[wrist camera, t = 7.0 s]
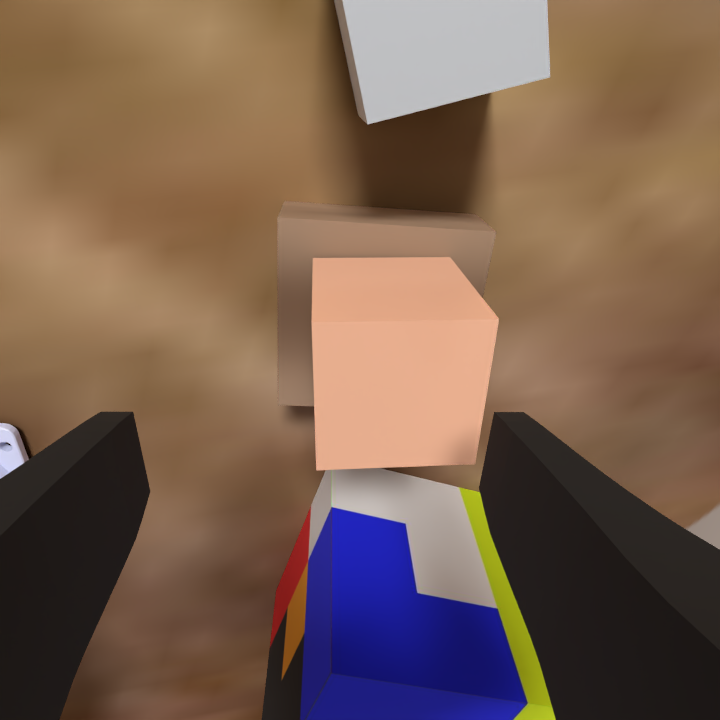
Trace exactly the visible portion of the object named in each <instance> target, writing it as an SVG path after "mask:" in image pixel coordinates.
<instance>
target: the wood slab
mask: <svg viewBox="0 0 720 720" xmlns="http://www.w3.org/2000/svg"><path fill="white" fill-rule="evenodd" d="M495 237H496V231H495V230H494V229H493V228H491V227H490V226H489V225H488V224H487V223H486V222H484V221H483V220H482V219H481V218H480V217H479V216H477V215H476V214H467V213H453V212H438V211H424V210H409V209H395V208H381V207H366V206H352V205H337V204H323V203H308V202H294V201H284V203H283V206H282V208H281V210H280V213H279V215H278V405H291V406H314V382H313V352H312V271H313V258H387V257H450V258H451V259H452V260H453V261H454V263H455V264H456V265H457V266H458V268H459V269H460V270H461V272H462V273H463V274H464V275H465V277H466V278H467V279H468V280H469V282H470V283H471V284H472V286H473V287H474V288H475V289H476V291H477V292H478V293H479V294H480V296H481V297H482V298H483V294H484V290H485V285H486V280H487V275H488V270H489V265H490V261H491V256H492V251H493V246H494V241H495Z"/></svg>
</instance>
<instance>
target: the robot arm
mask: <svg viewBox="0 0 720 720" xmlns="http://www.w3.org/2000/svg"><path fill="white" fill-rule="evenodd" d="M6 442H7V443H9V444H11V446H10V445H8V444H6ZM479 490H480V495H481V499H482V503H483V508H484V512H485V516H486V520H487V523H488V527H489V531H490V534H491V537H492V540H493V543H494V545H495V548H496V550H497V553H498V556H499V558H500V561H501V563H502V566H503V569H504V571H505V574H506V576H507V579H508V581H509V584H510V587H511V589H512V592H513V594H514V597H515V599H516V602H517V604H518V607H519V610H520V612H521V615H522V617H523V620H524V622H525V625H526V627H527V630H528V633H529V635H530V638H531V640H532V643H533V646H534V649H535V652H536V655H537V658H538V661H539V663H540V667H541V670H542V673H543V677H544V680H545V684H546V687H547V691H548V694H549V698H550V701H551V705H552V708H553V712H554V715H555V719H556V720H720V550H719V549H717V548H716V547H714V546H713V545H711V544H709V543H708V542H706V541H704V540H703V539H701V538H699V537H698V536H696V535H694V534H692V533H691V532H689V531H688V530H686V529H684V528H683V527H681V526H679V525H678V524H676V523H675V522H673V521H672V520H670V519H668V518H667V517H665V516H664V515H662V514H661V513H659V512H658V511H656V510H655V509H653V508H652V507H650V506H649V505H648V504H646V503H645V502H643V501H642V500H640V499H639V498H637V497H636V496H634V495H633V494H631V493H630V492H629V491H627V490H626V489H624V488H623V487H622V486H620V485H619V484H617V483H616V482H615V481H613V480H612V479H611V478H609V477H608V476H607V475H605V474H604V473H602V472H601V471H600V470H598V469H597V468H596V467H595V466H593V465H592V464H591V463H589V462H588V461H587V460H585V459H584V458H583V457H581V456H580V455H579V454H578V453H576V452H575V451H574V450H572V449H571V448H570V447H569V446H567V445H566V444H565V443H564V442H562V441H561V440H560V439H558V438H557V437H556V436H555V435H553V434H552V433H551V432H549V431H548V430H547V429H546V428H544V427H543V426H542V425H540V424H539V423H538V422H536V421H535V420H534V419H532V418H531V417H530V416H528V415H527V414H525V413H524V412H494V416H493V421H492V426H491V431H490V436H489V441H488V446H487V451H486V456H485V461H484V466H483V471H482V476H481V481H480V486H479ZM149 494H150V488H149V483H148V479H147V474H146V470H145V465H144V460H143V456H142V451H141V447H140V442H139V437H138V433H137V428H136V423H135V419H134V414H133V412H100V413H98V414H97V415H95V416H93V417H91V418H90V419H88V420H87V421H85V422H84V423H82V424H81V425H79V426H78V427H76V428H75V429H73V430H72V431H70V432H69V433H67V434H66V435H64V436H63V437H61V438H60V439H58V440H57V441H55V442H54V443H53V444H51V445H50V446H48V447H47V448H45V449H44V450H42V451H41V452H39V453H38V454H36V455H35V456H33V457H32V458H30V459H29V458H28V456H27V453H26V450H25V448H24V445H23V442H22V439H21V437H20V434H19V432H18V430H17V429H16V428H15V427H14V426H12V425H10V424H6V423H0V720H59V719H60V716H61V714H62V711H63V708H64V705H65V702H66V699H67V696H68V693H69V691H70V688H71V685H72V682H73V679H74V677H75V674H76V672H77V669H78V667H79V665H80V662H81V660H82V657H83V655H84V652H85V650H86V648H87V646H88V644H89V641H90V639H91V637H92V635H93V633H94V630H95V628H96V626H97V624H98V622H99V620H100V617H101V615H102V613H103V611H104V609H105V606H106V604H107V602H108V600H109V598H110V595H111V593H112V591H113V589H114V587H115V584H116V582H117V580H118V578H119V576H120V573H121V571H122V569H123V567H124V565H125V562H126V560H127V558H128V556H129V553H130V551H131V549H132V546H133V544H134V542H135V540H136V537H137V534H138V531H139V527H140V524H141V521H142V518H143V515H144V511H145V508H146V504H147V501H148V497H149Z"/></svg>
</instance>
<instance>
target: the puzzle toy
mask: <svg viewBox="0 0 720 720" xmlns="http://www.w3.org/2000/svg"><path fill="white" fill-rule="evenodd" d="M262 720H556V719H555V715H554V712H553V708H552V705H551V701H550V698H549V694H548V691H547V687H546V684H545V680H544V677H543V673H542V670H541V667H540V663H539V661H538V658H537V655H536V652H535V649H534V646H533V643H532V640H531V638H530V635H529V633H528V630H527V627H526V625H525V622H524V620H523V617H522V615H521V612H520V610H519V607H518V604H517V602H516V599H515V597H514V594H513V592H512V589H511V587H510V584H509V581H508V579H507V576H506V574H505V571H504V569H503V566H502V563H501V561H500V558H499V556H498V553H497V550H496V548H495V545H494V543H493V540H492V537H491V534H490V531H489V527H488V523H487V520H486V516H485V512H484V508H483V503H482V499H481V495H480V492H476V491H472V490H467V489H463V488H459V487H455V486H451V485H447V484H443V483H439V482H435V481H431V480H426V479H422V478H418V477H414V476H410V475H406V474H402V473H398V472H394V471H390V470H385V469H381V468H363V469H337V470H326V471H325V473H324V476H323V478H322V481H321V483H320V486H319V488H318V490H317V493H316V495H315V498H314V500H313V503H312V505H311V507H310V510H309V512H308V515H307V517H306V520H305V522H304V524H303V527H302V529H301V532H300V534H299V537H298V539H297V541H296V544H295V546H294V549H293V551H292V554H291V556H290V558H289V561H288V563H287V566H286V568H285V571H284V573H283V575H282V578H281V580H280V583H279V585H278V588H277V590H276V597H275V606H274V615H273V624H272V633H271V642H270V651H269V660H268V669H267V678H266V687H265V695H264V704H263V713H262Z"/></svg>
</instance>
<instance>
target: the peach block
mask: <svg viewBox="0 0 720 720" xmlns="http://www.w3.org/2000/svg"><path fill="white" fill-rule="evenodd" d="M498 323H499V319H498V317H497V316H496V315H495V313H494V312H493V311H492V310H491V308H490V307H489V306H488V305H487V303H486V302H485V301H484V299H483V298H482V297H481V296H480V294H479V293H478V292H477V291H476V289H475V288H474V287H473V286H472V284H471V283H470V282H469V280H468V279H467V278H466V277H465V275H464V274H463V273H462V272H461V270H460V269H459V268H458V266H457V265H456V264H455V263H454V261H453V260H452V259H451V258H450V257H387V258H313V271H312V352H313V382H314V413H315V443H316V470H337V469H363V468H388V467H414V466H439V465H465V464H475V462H476V456H477V449H478V443H479V437H480V431H481V425H482V419H483V413H484V407H485V401H486V395H487V389H488V383H489V377H490V371H491V365H492V359H493V353H494V347H495V341H496V335H497V329H498Z"/></svg>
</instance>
